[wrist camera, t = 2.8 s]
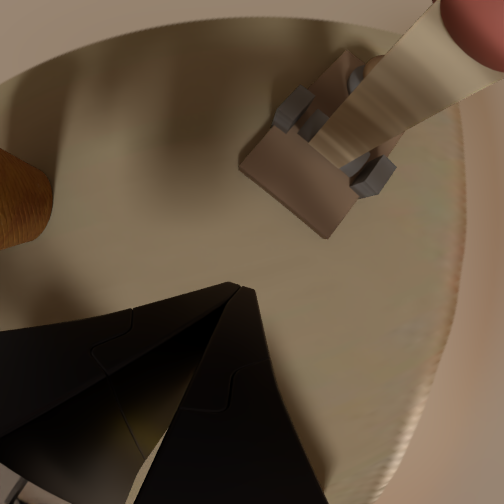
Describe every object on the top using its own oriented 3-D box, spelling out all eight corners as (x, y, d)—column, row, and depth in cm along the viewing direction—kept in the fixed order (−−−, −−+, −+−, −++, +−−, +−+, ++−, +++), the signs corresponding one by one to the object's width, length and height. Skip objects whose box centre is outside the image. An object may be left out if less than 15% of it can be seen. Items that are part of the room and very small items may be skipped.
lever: (338, 187, 19) (593, 96, 2) (288, 144, 18) (441, -81, 1) (366, 150, 19) (578, 38, 1) (318, 109, 18) (467, -82, 1)
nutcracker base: (325, 240, 20) (355, 244, 15) (236, 168, 20) (236, 145, 14) (413, 116, 20) (451, 93, 15) (341, 54, 19) (365, 17, 14)
